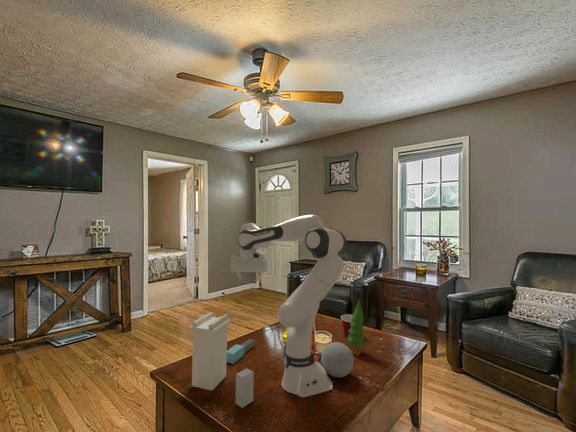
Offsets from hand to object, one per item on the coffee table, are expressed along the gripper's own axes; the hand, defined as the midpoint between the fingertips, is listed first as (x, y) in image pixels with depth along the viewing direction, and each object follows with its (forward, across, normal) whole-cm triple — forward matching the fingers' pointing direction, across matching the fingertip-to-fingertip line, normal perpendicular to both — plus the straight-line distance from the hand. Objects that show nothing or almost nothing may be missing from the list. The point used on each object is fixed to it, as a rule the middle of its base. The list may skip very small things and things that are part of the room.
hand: (248, 280), depth 155 cm
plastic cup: (+41, +47, +47) cm, 78 cm away
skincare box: (+42, +14, -34) cm, 56 cm away
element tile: (+40, +17, +32) cm, 54 cm away
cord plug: (+40, -6, +3) cm, 40 cm away
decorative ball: (+42, +46, -1) cm, 62 cm away
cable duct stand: (+40, -7, -25) cm, 48 cm away
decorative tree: (+42, +52, +26) cm, 72 cm away
